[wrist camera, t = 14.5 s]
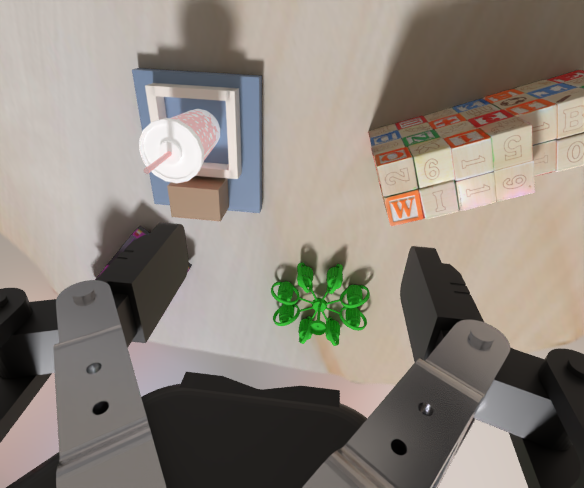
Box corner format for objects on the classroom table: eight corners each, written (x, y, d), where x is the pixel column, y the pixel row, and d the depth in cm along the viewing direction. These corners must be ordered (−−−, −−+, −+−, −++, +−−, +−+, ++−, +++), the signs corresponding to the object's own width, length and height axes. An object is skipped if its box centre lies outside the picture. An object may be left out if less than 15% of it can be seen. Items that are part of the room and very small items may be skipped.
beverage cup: (180, 92, 40) (113, 121, 28) (232, 113, 41) (189, 150, 29) (170, 144, 43) (107, 189, 31) (219, 163, 44) (175, 214, 32)
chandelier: (389, 277, 52) (395, 309, 46) (344, 344, 60) (344, 379, 54) (291, 239, 51) (285, 268, 45) (258, 313, 58) (249, 345, 52)
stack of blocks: (580, 66, 36) (677, 83, 26) (577, 128, 39) (664, 166, 29) (366, 131, 42) (375, 166, 31) (378, 180, 45) (389, 228, 34)
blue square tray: (138, 68, 41) (112, 74, 36) (261, 75, 40) (251, 82, 35) (159, 199, 49) (140, 217, 44) (261, 208, 48) (253, 227, 43)
